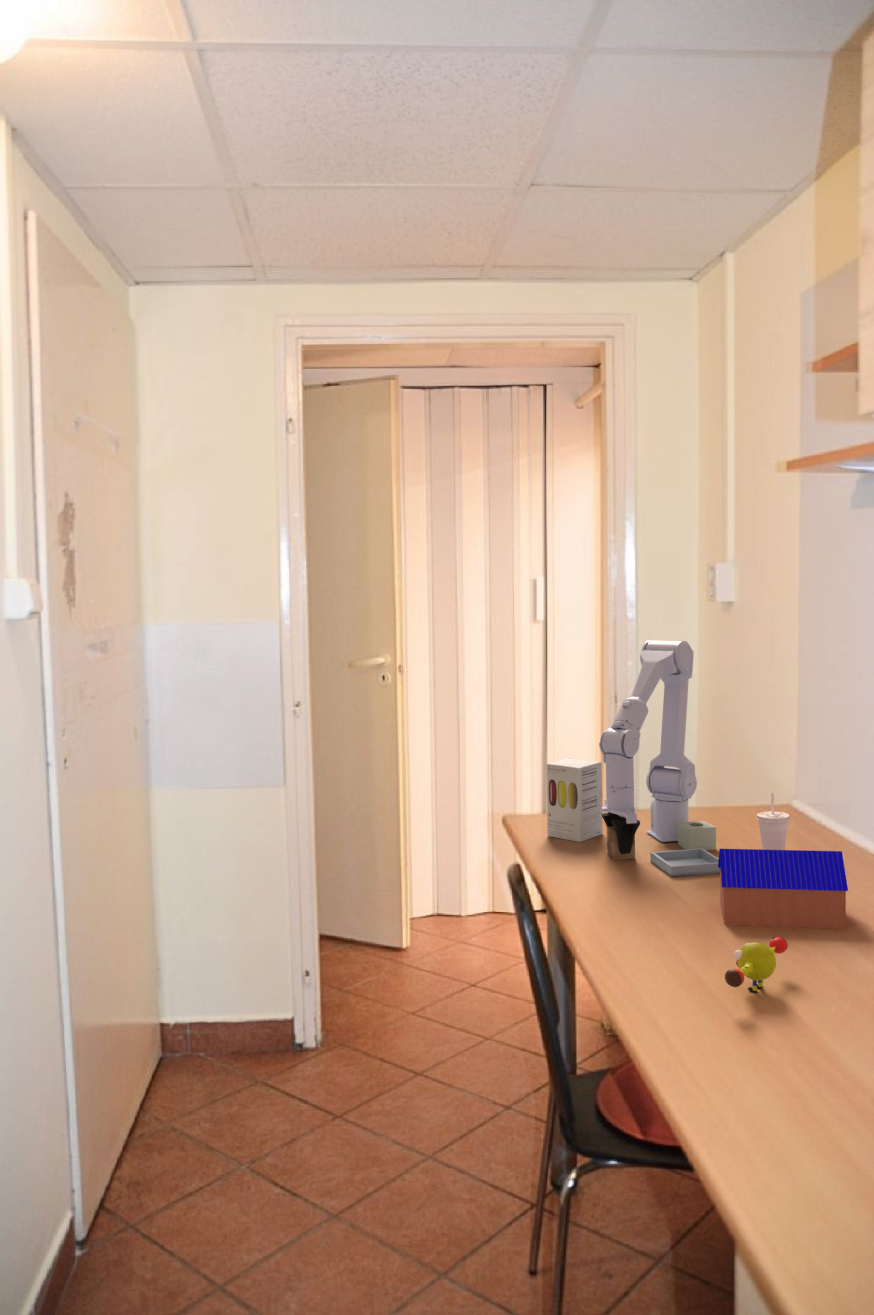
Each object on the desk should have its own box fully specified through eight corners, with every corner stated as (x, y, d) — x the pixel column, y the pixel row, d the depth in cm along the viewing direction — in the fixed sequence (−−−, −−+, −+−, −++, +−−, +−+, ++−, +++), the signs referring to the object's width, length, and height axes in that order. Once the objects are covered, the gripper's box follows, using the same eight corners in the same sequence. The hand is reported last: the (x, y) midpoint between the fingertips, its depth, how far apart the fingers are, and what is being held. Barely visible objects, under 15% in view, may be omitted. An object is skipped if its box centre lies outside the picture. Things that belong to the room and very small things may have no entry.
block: (607, 854, 225) (606, 826, 224) (627, 853, 225) (627, 825, 225) (614, 860, 220) (613, 831, 220) (635, 858, 221) (634, 829, 220)
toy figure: (762, 966, 160) (762, 922, 159) (798, 974, 156) (798, 929, 156) (709, 1006, 146) (709, 957, 145) (748, 1015, 142) (748, 966, 142)
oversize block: (678, 845, 231) (677, 822, 231) (704, 843, 232) (704, 820, 232) (689, 852, 225) (689, 828, 225) (716, 850, 226) (715, 826, 226)
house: (718, 904, 190) (717, 840, 189) (836, 907, 186) (836, 842, 185) (722, 926, 179) (721, 858, 178) (848, 930, 175) (848, 860, 174)
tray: (650, 861, 218) (650, 852, 218) (702, 857, 220) (702, 848, 220) (671, 876, 207) (671, 866, 207) (725, 872, 209) (725, 862, 209)
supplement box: (546, 836, 241) (544, 763, 240) (568, 828, 248) (567, 757, 247) (581, 842, 235) (580, 767, 234) (604, 834, 242) (602, 761, 241)
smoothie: (786, 857, 218) (785, 790, 217) (793, 866, 212) (793, 796, 211) (754, 857, 219) (753, 790, 218) (760, 866, 212) (760, 797, 211)
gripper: (590, 780, 228) (592, 842, 229) (612, 794, 214) (613, 860, 215) (622, 778, 229) (623, 840, 230) (646, 791, 215) (647, 857, 216)
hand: (621, 850), depth 223 cm, fingers closed on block, 4 cm apart
